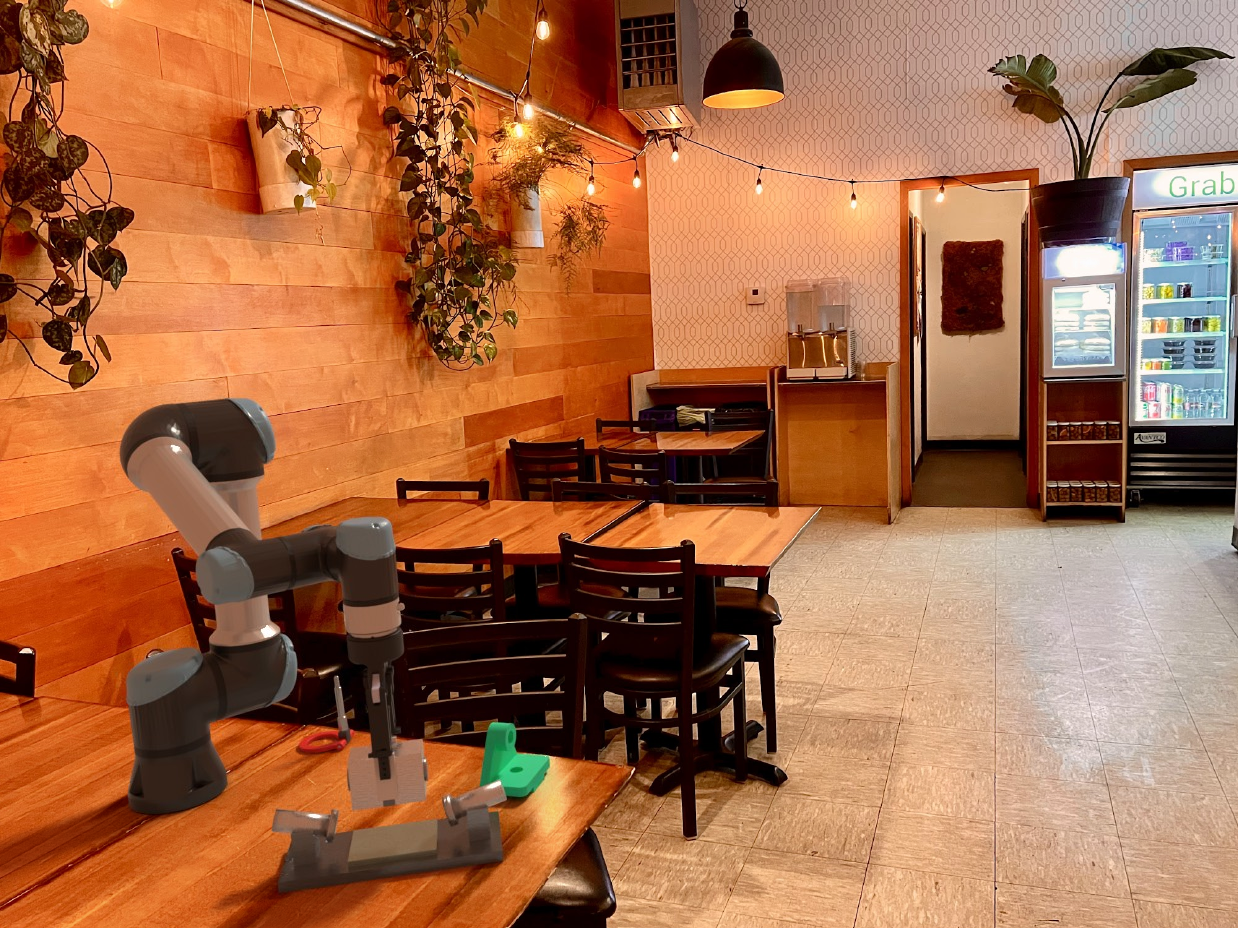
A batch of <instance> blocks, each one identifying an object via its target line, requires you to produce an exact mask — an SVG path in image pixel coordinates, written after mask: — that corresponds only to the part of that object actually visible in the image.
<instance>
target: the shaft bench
mask: <svg viewBox="0 0 1238 928" xmlns="http://www.w3.org/2000/svg"><path fill="white" fill-rule="evenodd" d="M507 797H508V796H506V794H505V790H504V787H503V785H502V782H501V780H497V781H495V782H492V783H490V784H487V785H485V786H482V787H480V786H479V787H478V788H474V789H472V790H470V791H467V792H464V793H462V794H460V795H459V794H458V796H454V797H452V795H451V794H450V793H448V794H446V795H442V797H441V801H442V807H443V810H444V811H443V812H444V813H445V816H446V818H445V817H444V818H434V819H426V820H421V821H412V822H405V823H404V822H403V823H398V824H397V823H396V824H390V825H381V826H375V827H369V828H362V829H361V828H360V829H355V830H349V831H343V832H336V830H337V826H338V820H339V814H340V810H339V809H334V808H333V809H331V812H330V814H328V813H326V814H325V813H318V812H309V811H300V810H293V809H292V810H291V809H281V808H276V809H275V812H274V815H273V820H272V825H271V833H272V832H273V833H282V834H289V835H290V839H291V840H290V843H289V847H288V850H287V853H286V856H285V859H284V863H283V866H282V868H281V873H280V875H279V877H278V882H277V886H278V887H277V888H278V893H279V894H285V893H290V892H291V893H292V892H298V891H304V890H310V889H317V888H325V887H331V886H333V887H334V886H340V885H345V884H352V883H353V884H354V883H359V882H366V881H367V882H368V881H374V880H380V879H381V880H382V879H387V878H394V877H401V876H408V875H415V874H416V875H417V874H423V873H428V872H436V871H443V870H451V869H457V868H462V867H464V868H465V867H471V866H477V865H484V864H493V863H499V862H504V853H503V852H504V849H503V843H502V842H503V841H502V832H501V824H500V823H501V821H500V812H499V810H496V811H489V807H492V806H495V805H498V804H501V803H502V802H505V801H507V799H508V798H507Z"/></svg>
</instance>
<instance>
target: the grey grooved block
mask: <svg viewBox="0 0 1238 928" xmlns="http://www.w3.org/2000/svg"><path fill="white" fill-rule="evenodd" d="M423 743H424V742H423V738H420V739H410V740H402V741H397V742H395V743H393V742H392V749H393V752H394V756H395V767H396V778H397V789H398V799H392V800H384V801H378V797H377V786H376V776H375V765H374V758H368V754H369V753H371V752H372V746H371V745H365V746H357V747H351V748H350V751H349V754H348V759H347V769H346V770H347V771H346V781H347V790H348V792H350V800H351V801H350V802H351V808H352V809H351V810H352V811H353V812H354V811H359V810H361V811H362V810H367V809H368V810H369V809H373V808H374V809H375V808H385V807H393V806H397V805H406V804H410V803H419V802H425V801H427V791H428V790H427V782H428V781H429V772H428V770H429V767H428V759H427V756H426V757H425V753H424V752H425V751H424V744H423Z"/></svg>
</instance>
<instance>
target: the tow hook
mask: <svg viewBox="0 0 1238 928" xmlns="http://www.w3.org/2000/svg"><path fill="white" fill-rule="evenodd" d="M339 678H340V677H339V676H338V675H334V676H333V681H334V694H335V701H336V708H337V709H336V710H337V716H338V717H337V725H338V730H328V731H323V732H318V733H314V734H311V735H309V736H307V737H305V738H303V739H302V740H301V741H300V742H298V750H299V751H300V752H302V753H307V754H317V753H318V754H319V753H323V752H328V751H330V750H331V751H332V750H336V751H340V752H341V751H342V750H344V749H345V747H346V746H347V745H348V744H349V743H350V741H352V738H353V737H354V735H355V731H354V729H351V728H350V727H349V724H348V719H347V715H346V712H345V708H344V707H345V706H344V700H343V692H342V686H341V685H340V680H339ZM329 738H330V739H331V738H333V739H337V740H335V741H332V742H329V743H326V744H321V745H310V744H311V743H313V742H315V741H318V740H321V739H329Z"/></svg>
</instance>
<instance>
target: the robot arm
mask: <svg viewBox="0 0 1238 928" xmlns="http://www.w3.org/2000/svg"><path fill="white" fill-rule="evenodd" d="M120 441H121V442H120V446H119V462H120V465H121V468H122V470H123V472H124V474H125V476H126V477H127V479H128V480H129V481H130V482H131V483H132V485H133V486H134V487H136V488H137V489H139V490H140V491H143V492H145V493H146V492H147V493H148V494H149V495H150V496H151V497H152V499H153V500H154V501H155V503H156V504H157V505H158V506H159V508H160V509H161V510H162V512H163V513H164V514H165V515H166V517H167V518H168V520H169V521H171V523H172V524H173V526H174V527H175V528H176V530H177V531H178V533H180V535H181V536H182V537H183V538H184V540H185V541H186V542H187V544H188V545H189V546H190V547H191V549H192V550H193V552H194V553H195V554H196V555H197V556H198V557H197V559H196V562H195V563H196V564H195V577H196V581H197V585H198V587H199V588H200V594H201V595H202V597H203V598H204V599H205V600H206V601H207V602H208V603H210V604H211V605H214V610H215V620H216V629H215V630H214V631H213V633H212V634H211V635H210V636H209V637H208V638H209V639H208V642H209V643H208V644H209V651H207V652H204V653H202V652H201V651H200V649H198V648H196V647H191V646H190V647H189V646H187V647H180V648H178V649H174V648H173V649H169V650H165V651H162V652H159V653H157V654H156V653H155V654H154V655H151V656H149V657H147V658H145V659H142V660H141V661H140V662H138V663H137V664H135V666H133V667H132V668H131V669H130V670H129V672H128V674H127V675H126V699H125V700H126V703H127V706H128V711H129V719H130V720H129V721H130V727H131V733H132V734H131V735H132V743H133V749H134V750H133V751H134V761H133V767H132V769H131V775H130V779H129V784H128V789H127V799H128V806H129V808H130V809H131V810H133V811H135V812H136V813H140V814H145V815H159V814H160V815H162V814H163V815H164V814H168V813H176V812H181V811H185V810H188V809H191V808H194V807H196V806H199V805H203V804H205V803H206V802H209V801H210V800H213V799H214V798H216V797H217V796H219V795H220V794H222V793H223V792H224V790H225V789H226V788H227V787H228V774H227V768H226V767H225V765H224V762H223V761H222V759H221V757H220V755H219V753H218V751H217V749H216V747H215V745H214V743H213V741H212V736H211V724H212V723H215V722H217V721H222V720H225V719H227V718H228V719H229V718H231V717H235V716H237V715H241V714H245V713H247V712H251V711H254V710H258V709H264V708H267V707H269V706H271V705H272V704H275V703H278V702H281V701H283V700H285V699H286V698H288V697H289V695H290V694H291V692H293V689H294V688H295V687H294V686H295V685H296V681H297V676H298V675H297V674H298V659H297V654H296V652H295V651H294V645H293V642H292V640H291V639H290V638H289V637H288V636H287V635H286V634H283V633H281V628H280V626H278V625H277V624H276V623H274V622H273V621H272V620H271V617H270V610H269V609H270V608H269V599H268V595H271V594H276V593H280V592H285V591H287V590H294V589H298V588H302V587H307V586H311V585H315V584H316V585H317V584H318V583H325V582H329V581H333V582H337V583H339V584H340V585H341V586H340V587H341V593H342V609H343V619H344V620H343V621H344V629H345V631H346V632H347V633H348V634H347V636H346V644H347V654H348V656H347V657H348V660H349V661H350V662H351V663H353V664H355V665H364V666H365V667H366V668H363V669H364V670H363V671H364V672H363V673H364V674H362V684H363V688H364V689H365V692H364V695H365V701H366V706H367V712H368V723H369V724H368V725H369V732H370V734H369V735H370V744H371V745H370V746H372V752H371V753H369V754H368V758H374V765H375V776H376V786H377V797H378V801H384V800H392V799H398V789H397V778H396V767H395V756H394V752H393V749H392V742H393V743H395V742H398V740H397V734H401V733H402V731H401V726H396V724H397V719H396V713H395V704H394V692H395V685H394V678H395V677H394V675H395V669H394V666H393V665H392V662H393V661H395V660H397V659H399V658H400V657H401V656H402V655H403V654H404V652H405V646H404V645H405V644H404V634H403V629H402V628H401V627H400V626H401V624H402V617H401V611H403V610H404V609H405V604H404V603H402V602H400V597H399V595H400V594H399V577H398V567H397V554H396V551H397V549H396V548H397V545H396V541H395V538H394V532H393V526H392V523H391V521H390V520H389V519H387V518H386V517H383V516H362V517H355V518H350V519H349V518H348V519H345V520H343V521H341V522H340V523H338V524H337V526H336V525H331V524H327V523H326V524H316V525H315V524H314V525H309V526H307V527H305V529H303V530H301V532H298V533H296V532H295V533H291V534H286V535H282V536H276V537H270V538H264V539H263V538H262V528H261V518H260V510H259V500H258V499H259V498H258V489H257V486H258V485H259V483H260V482H261V481H262V479H264V478H265V476H266V475H265V465H268V464H269V463H270V462H271V461H273V460H274V457H275V455H276V453H275V452H276V446H277V445H276V437H275V433H274V428H273V425H272V424H271V420H270V418H269V416H268V414H267V413H266V411H265V410H264V409H263V406H261V405H260V404H259V403H258V402H257V401H255V400H253V399H252V398H247V397H246V398H245V397H243V398H242V397H241V398H240V397H239V398H236V397H235V398H232V397H231V398H230V397H226V398H218V399H209V400H208V399H207V400H199V401H197V400H196V401H191V402H190V401H187V402H179V403H163V404H160V405H155V406H153V407H151V408H148V409H146V410H145V411H143V412H142V413H140V414H139V415H138V416H137V417H136V418H134V420H132V421H131V423H129V425H128V427H127V428H126V430H125V431H124V433H123V436H122V438H121V440H120ZM399 602H400V603H399Z"/></svg>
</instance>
